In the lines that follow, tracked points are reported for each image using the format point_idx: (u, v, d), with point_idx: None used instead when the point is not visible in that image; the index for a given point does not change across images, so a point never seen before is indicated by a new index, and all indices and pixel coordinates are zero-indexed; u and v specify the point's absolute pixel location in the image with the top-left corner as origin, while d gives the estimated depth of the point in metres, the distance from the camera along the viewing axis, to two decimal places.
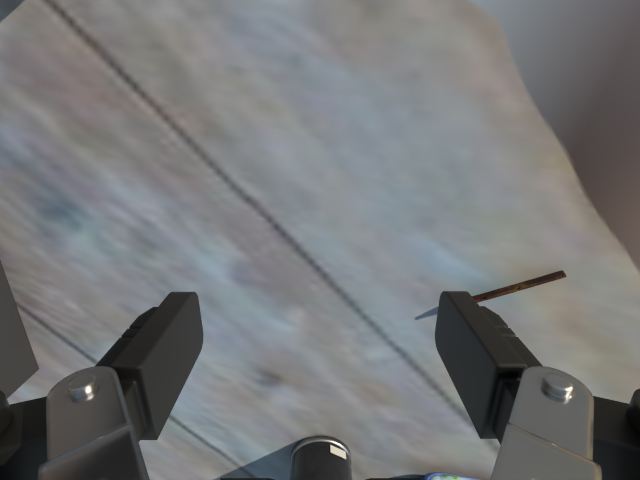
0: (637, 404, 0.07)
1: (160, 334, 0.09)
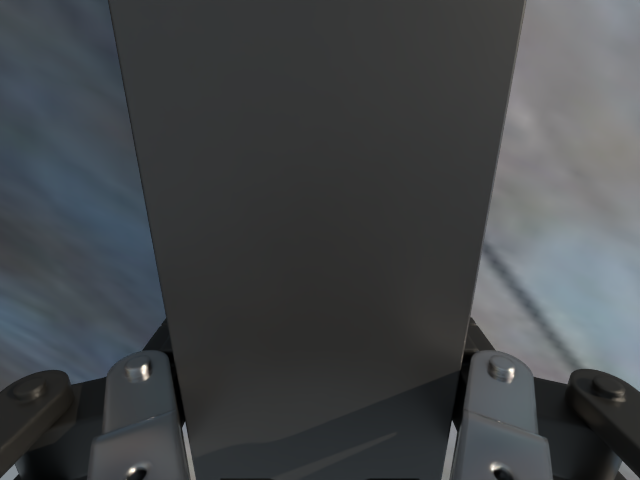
0: (574, 387, 0.07)
1: None
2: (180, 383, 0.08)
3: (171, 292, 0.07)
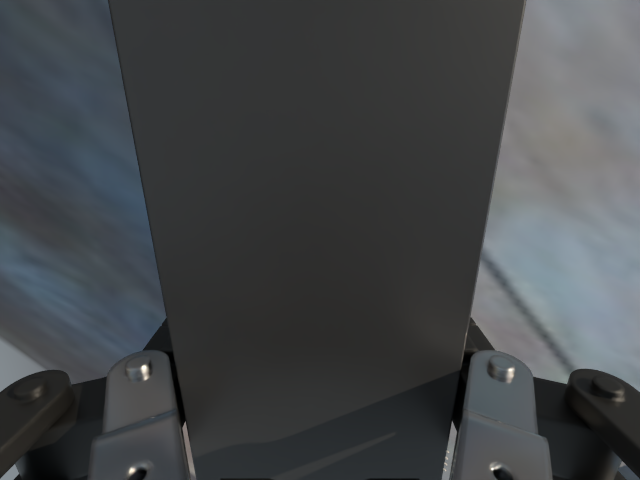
0: (574, 387, 0.07)
1: None
2: (180, 383, 0.08)
3: (171, 292, 0.07)
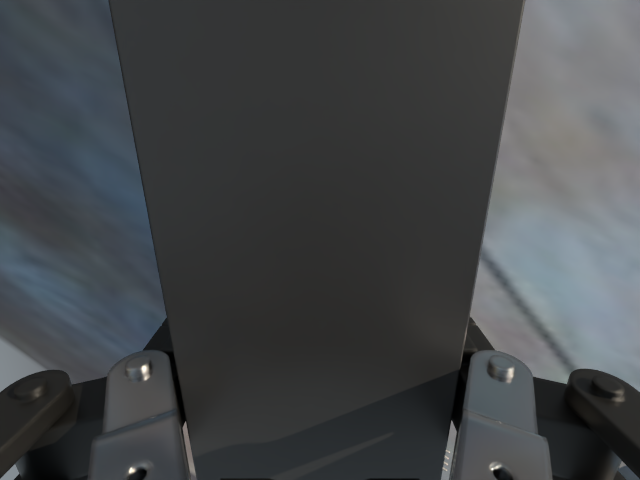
0: (574, 387, 0.07)
1: None
2: (180, 382, 0.08)
3: (172, 292, 0.07)
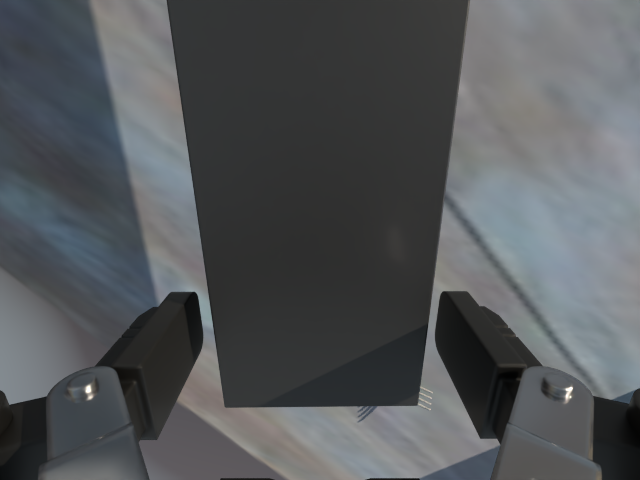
0: (637, 404, 0.07)
1: (160, 334, 0.09)
2: (205, 271, 0.09)
3: (201, 185, 0.08)
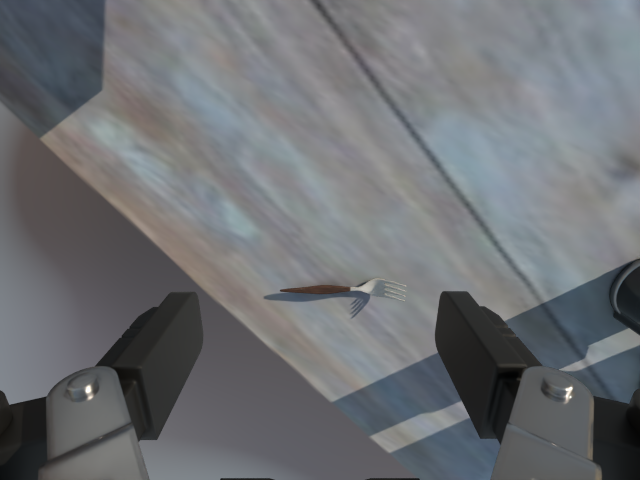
0: (637, 404, 0.07)
1: (160, 334, 0.09)
2: None
3: None
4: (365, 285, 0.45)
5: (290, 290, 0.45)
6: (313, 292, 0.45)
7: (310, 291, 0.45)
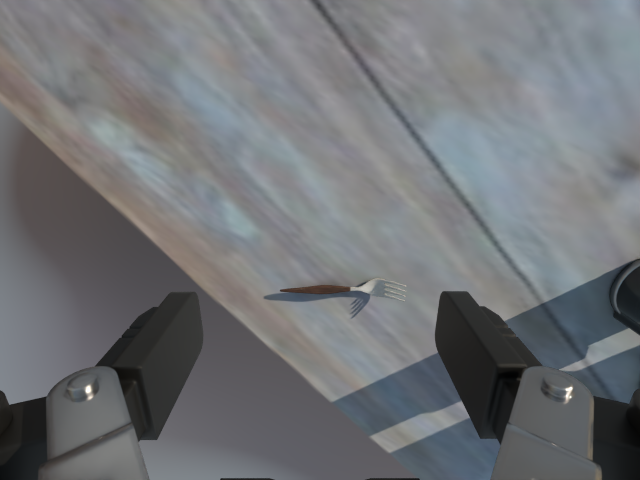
0: (637, 404, 0.07)
1: (160, 334, 0.09)
2: None
3: None
4: (365, 285, 0.45)
5: (290, 290, 0.45)
6: (313, 292, 0.45)
7: (310, 291, 0.45)
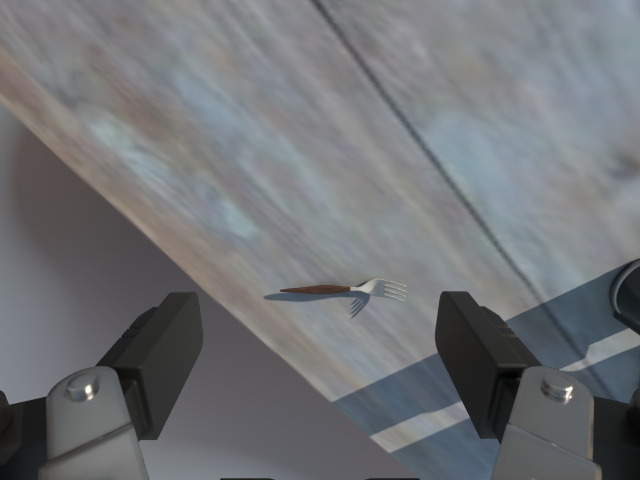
0: (637, 404, 0.07)
1: (160, 334, 0.09)
2: None
3: None
4: (365, 285, 0.45)
5: (290, 290, 0.45)
6: (313, 292, 0.45)
7: (310, 291, 0.45)
